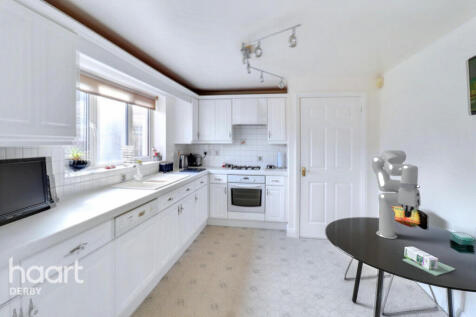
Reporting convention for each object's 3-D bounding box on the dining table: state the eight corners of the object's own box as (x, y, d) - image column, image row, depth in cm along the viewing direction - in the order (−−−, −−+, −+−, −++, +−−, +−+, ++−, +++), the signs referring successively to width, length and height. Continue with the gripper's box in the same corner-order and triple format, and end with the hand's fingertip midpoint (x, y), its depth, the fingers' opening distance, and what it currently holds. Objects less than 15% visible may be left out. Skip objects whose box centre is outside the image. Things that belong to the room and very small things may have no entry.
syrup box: (404, 246, 127) (429, 259, 113) (413, 246, 128) (439, 258, 113) (403, 256, 127) (428, 270, 113) (412, 255, 128) (438, 269, 114)
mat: (420, 255, 129) (420, 254, 129) (455, 269, 114) (455, 268, 114) (402, 260, 124) (402, 259, 124) (436, 276, 109) (436, 274, 109)
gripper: (427, 188, 122) (426, 220, 123) (399, 183, 136) (398, 212, 137) (419, 189, 119) (418, 221, 120) (391, 184, 133) (390, 214, 134)
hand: (407, 216), depth 128 cm, fingers closed
